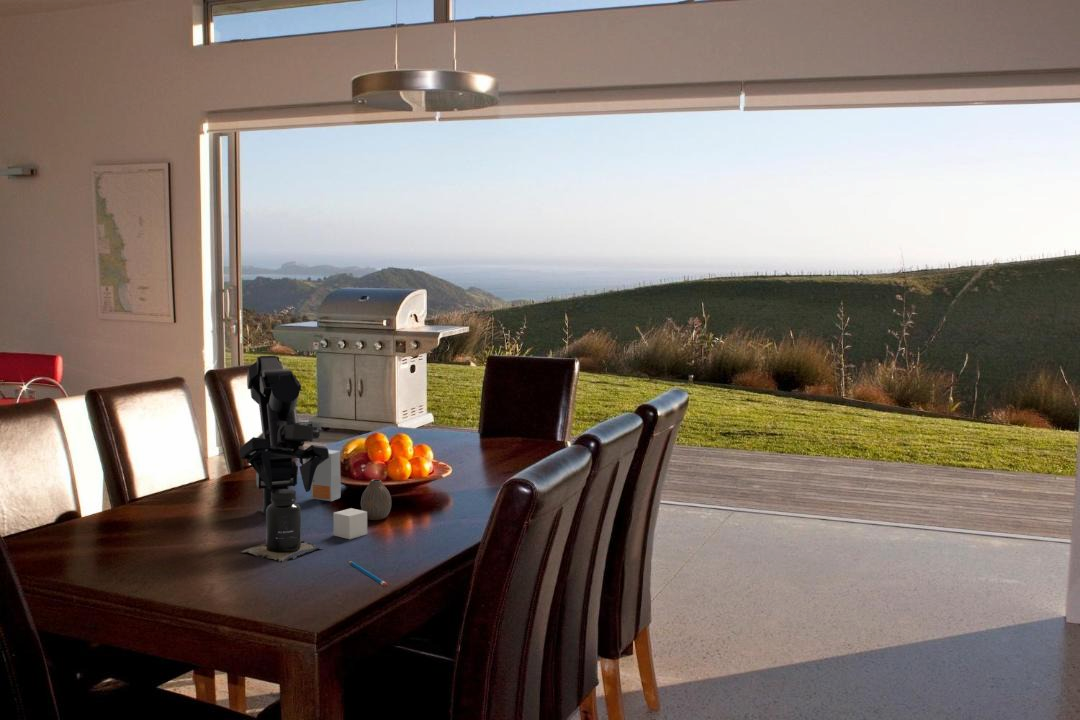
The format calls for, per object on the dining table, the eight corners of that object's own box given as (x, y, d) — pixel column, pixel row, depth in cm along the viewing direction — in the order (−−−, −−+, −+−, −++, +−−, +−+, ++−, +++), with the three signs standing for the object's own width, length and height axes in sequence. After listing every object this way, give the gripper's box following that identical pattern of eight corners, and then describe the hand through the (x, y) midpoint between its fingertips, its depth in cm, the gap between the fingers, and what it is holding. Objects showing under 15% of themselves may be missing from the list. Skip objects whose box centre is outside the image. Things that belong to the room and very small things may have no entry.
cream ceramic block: (333, 535, 200) (333, 512, 200) (351, 530, 204) (351, 508, 204) (349, 539, 197) (349, 516, 197) (367, 534, 201) (367, 511, 201)
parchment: (283, 564, 181) (283, 559, 181) (236, 554, 187) (236, 549, 187) (328, 549, 191) (328, 544, 191) (282, 539, 198) (282, 535, 198)
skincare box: (310, 499, 232) (310, 451, 231) (321, 495, 236) (320, 448, 235) (331, 501, 230) (330, 453, 229) (341, 498, 234) (340, 450, 232)
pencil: (384, 587, 168) (384, 583, 168) (346, 563, 182) (346, 559, 182) (388, 587, 168) (388, 583, 168) (350, 562, 182) (350, 559, 182)
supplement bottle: (283, 556, 185) (281, 496, 184) (259, 551, 188) (257, 492, 187) (308, 548, 191) (307, 490, 190) (285, 542, 194) (283, 486, 193)
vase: (385, 522, 210) (384, 484, 210) (356, 521, 212) (355, 482, 211) (395, 515, 217) (395, 477, 216) (367, 513, 219) (367, 476, 218)
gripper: (263, 401, 194) (270, 471, 187) (339, 413, 207) (347, 479, 200) (235, 423, 200) (241, 491, 194) (311, 433, 213) (318, 498, 207)
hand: (289, 489), depth 198 cm, fingers open, 9 cm apart
